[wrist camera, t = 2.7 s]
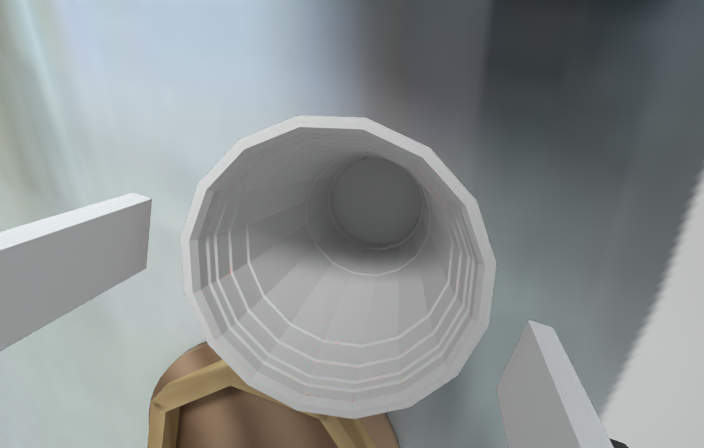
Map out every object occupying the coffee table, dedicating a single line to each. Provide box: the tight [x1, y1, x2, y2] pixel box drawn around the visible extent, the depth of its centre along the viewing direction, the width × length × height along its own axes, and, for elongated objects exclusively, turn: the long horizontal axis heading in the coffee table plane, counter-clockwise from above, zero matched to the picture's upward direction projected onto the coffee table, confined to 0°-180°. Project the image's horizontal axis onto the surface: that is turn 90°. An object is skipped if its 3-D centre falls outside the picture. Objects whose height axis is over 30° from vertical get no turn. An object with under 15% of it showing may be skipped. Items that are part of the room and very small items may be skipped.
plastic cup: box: [180, 115, 497, 419], centre depth 19 cm, size 11×11×12 cm
